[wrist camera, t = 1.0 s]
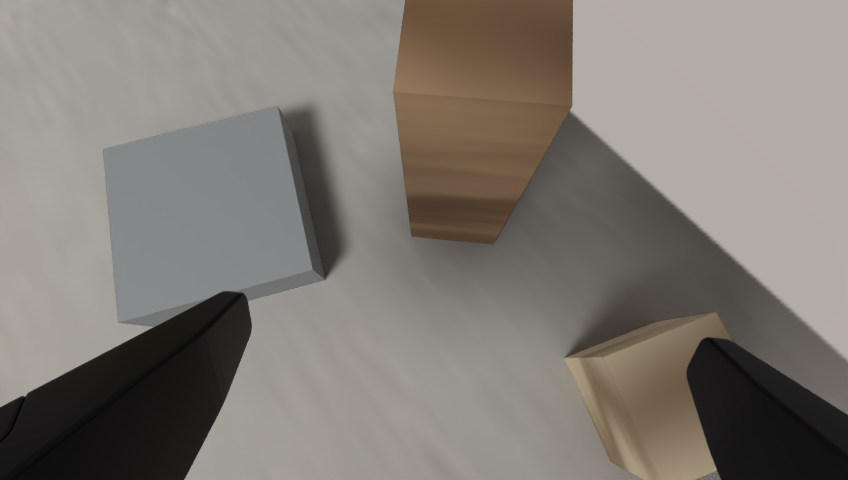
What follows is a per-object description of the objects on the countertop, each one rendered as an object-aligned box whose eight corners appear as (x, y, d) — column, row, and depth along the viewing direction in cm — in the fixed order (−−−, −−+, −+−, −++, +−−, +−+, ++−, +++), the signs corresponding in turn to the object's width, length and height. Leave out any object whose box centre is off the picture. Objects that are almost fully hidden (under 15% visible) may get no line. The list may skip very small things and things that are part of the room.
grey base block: (327, 281, 23) (312, 269, 20) (157, 327, 22) (117, 322, 20) (294, 134, 25) (277, 106, 22) (140, 173, 25) (102, 149, 22)
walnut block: (493, 243, 23) (571, 106, 11) (411, 236, 23) (392, 91, 11) (497, 168, 24) (572, -37, 12) (419, 161, 24) (411, -48, 12)
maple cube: (703, 421, 21) (786, 439, 16) (609, 461, 20) (666, 492, 16) (653, 322, 22) (716, 311, 17) (564, 357, 22) (603, 357, 17)
